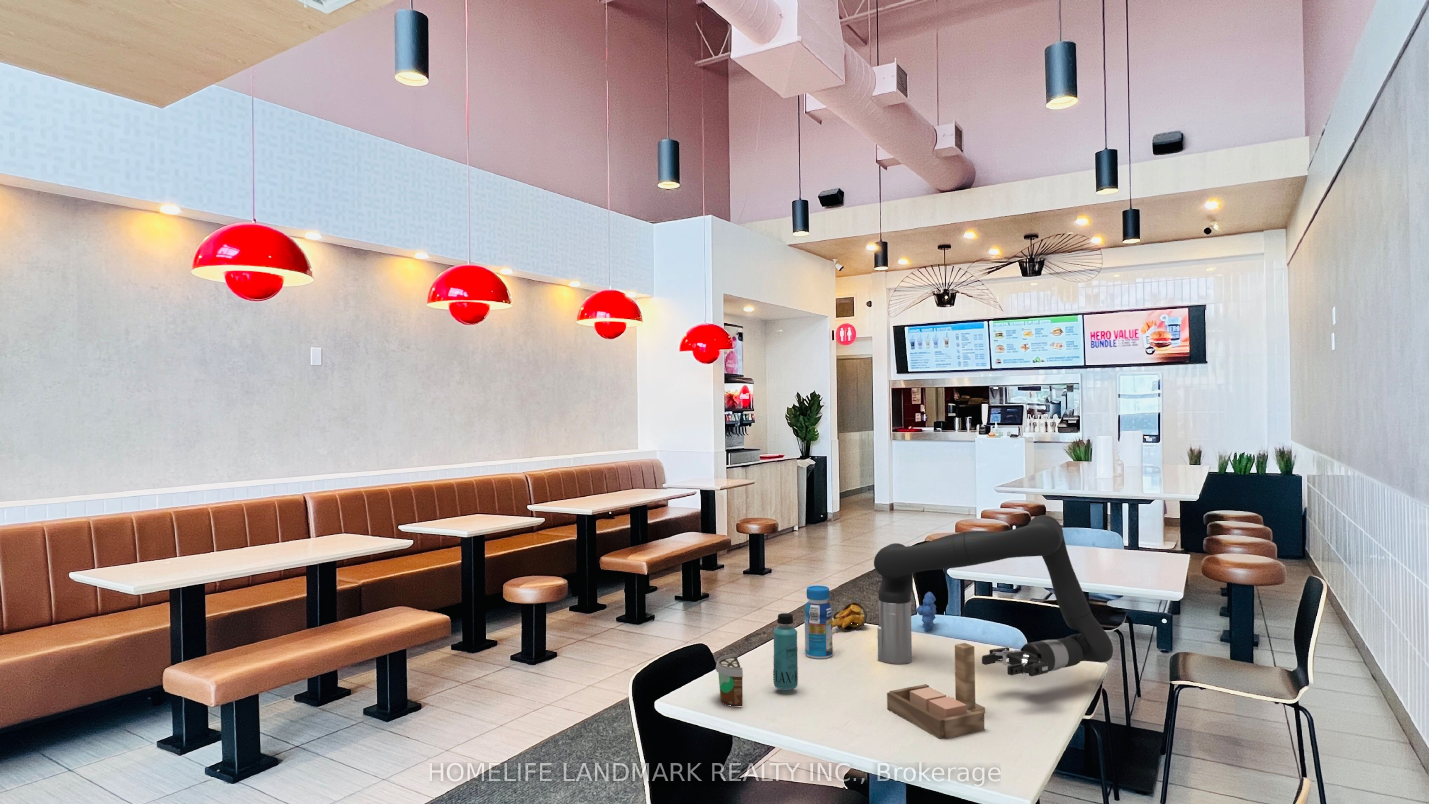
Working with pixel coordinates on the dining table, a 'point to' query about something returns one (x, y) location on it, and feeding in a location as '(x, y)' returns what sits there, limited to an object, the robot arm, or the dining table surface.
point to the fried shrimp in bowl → (850, 617)
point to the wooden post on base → (966, 677)
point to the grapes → (927, 611)
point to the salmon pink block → (947, 707)
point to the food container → (730, 680)
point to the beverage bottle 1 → (785, 654)
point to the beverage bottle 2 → (818, 623)
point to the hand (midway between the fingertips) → (995, 665)
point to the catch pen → (933, 716)
